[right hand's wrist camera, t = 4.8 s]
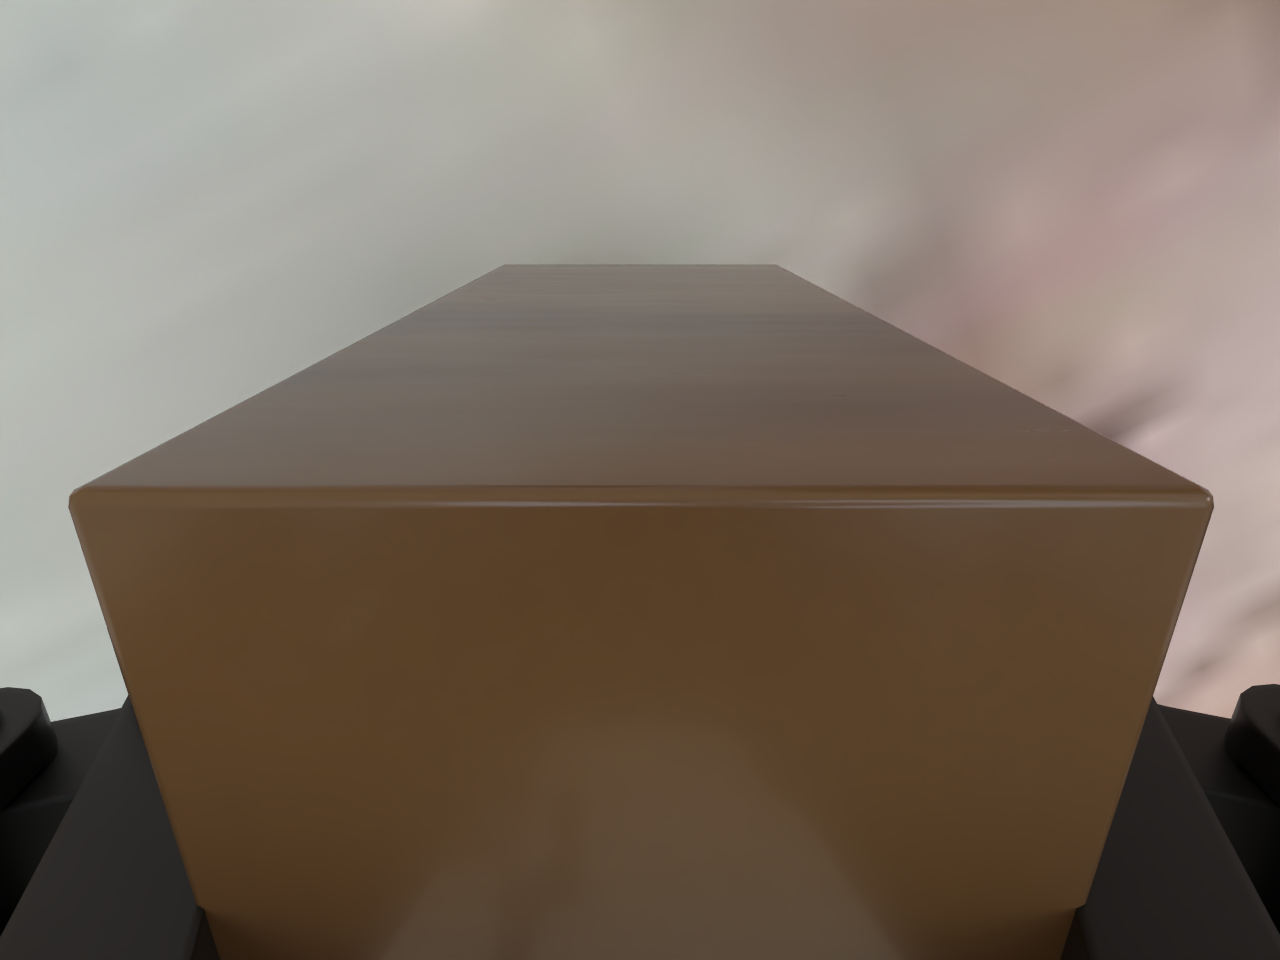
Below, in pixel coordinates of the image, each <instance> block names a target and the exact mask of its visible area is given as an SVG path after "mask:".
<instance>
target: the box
mask: <svg viewBox="0 0 1280 960" xmlns="http://www.w3.org/2000/svg"><path fill="white" fill-rule="evenodd" d="M1213 508H1214V503H1213V496H1212V494H1211V493H1210V492H1209V490H1207V489H1205V488H1203V487H1202V486H1200V485H1198V484H1196V483H1194V482H1192V481H1190V480H1188V479H1186V478H1184V477H1182V476H1180V475H1179V474H1177V473H1175V472H1173V471H1171V470H1169V469H1167V468H1165V467H1163V466H1161V465H1159V464H1157V463H1156V462H1154V461H1152V460H1150V459H1148V458H1146V457H1144V456H1142V455H1140V454H1138V453H1136V452H1134V451H1132V450H1131V449H1129V448H1127V447H1125V446H1123V445H1121V444H1119V443H1117V442H1115V441H1113V440H1111V439H1109V438H1108V437H1106V436H1104V435H1102V434H1100V433H1098V432H1096V431H1094V430H1092V429H1090V428H1088V427H1086V426H1085V425H1083V424H1081V423H1079V422H1077V421H1075V420H1073V419H1071V418H1069V417H1067V416H1065V415H1063V414H1062V413H1060V412H1058V411H1056V410H1054V409H1052V408H1050V407H1048V406H1046V405H1044V404H1042V403H1040V402H1039V401H1037V400H1035V399H1033V398H1031V397H1029V396H1027V395H1025V394H1023V393H1021V392H1019V391H1017V390H1016V389H1014V388H1012V387H1010V386H1008V385H1006V384H1004V383H1002V382H1000V381H998V380H996V379H994V378H993V377H991V376H989V375H987V374H985V373H983V372H981V371H979V370H977V369H975V368H973V367H971V366H970V365H968V364H966V363H964V362H962V361H960V360H958V359H956V358H954V357H952V356H950V355H948V354H947V353H945V352H943V351H941V350H939V349H937V348H935V347H933V346H931V345H929V344H927V343H925V342H924V341H922V340H920V339H918V338H916V337H914V336H912V335H910V334H908V333H906V332H904V331H902V330H901V329H899V328H897V327H895V326H893V325H891V324H889V323H887V322H885V321H883V320H881V319H879V318H878V317H876V316H874V315H872V314H870V313H868V312H866V311H864V310H862V309H860V308H858V307H856V306H855V305H853V304H851V303H849V302H847V301H845V300H843V299H841V298H839V297H837V296H835V295H833V294H832V293H830V292H828V291H826V290H824V289H822V288H820V287H818V286H816V285H814V284H812V283H810V282H809V281H807V280H805V279H803V278H801V277H799V276H797V275H795V274H793V273H791V272H789V271H787V270H785V269H784V268H782V267H780V266H778V265H503V266H501V267H499V268H497V269H495V270H493V271H491V272H489V273H487V274H485V275H484V276H482V277H480V278H478V279H476V280H474V281H472V282H470V283H468V284H466V285H464V286H463V287H461V288H459V289H457V290H455V291H453V292H451V293H449V294H447V295H445V296H443V297H442V298H440V299H438V300H436V301H434V302H432V303H430V304H428V305H426V306H424V307H422V308H421V309H419V310H417V311H415V312H413V313H411V314H409V315H407V316H405V317H403V318H401V319H400V320H398V321H396V322H394V323H392V324H390V325H388V326H386V327H384V328H382V329H380V330H379V331H377V332H375V333H373V334H371V335H369V336H367V337H365V338H363V339H361V340H359V341H358V342H356V343H354V344H352V345H350V346H348V347H346V348H344V349H342V350H340V351H338V352H337V353H335V354H333V355H331V356H329V357H327V358H325V359H323V360H321V361H319V362H318V363H316V364H314V365H312V366H310V367H308V368H306V369H304V370H302V371H300V372H298V373H297V374H295V375H293V376H291V377H289V378H287V379H285V380H283V381H281V382H279V383H277V384H276V385H274V386H272V387H270V388H268V389H266V390H264V391H262V392H260V393H258V394H256V395H255V396H253V397H251V398H249V399H247V400H245V401H243V402H241V403H239V404H237V405H235V406H234V407H232V408H230V409H228V410H226V411H224V412H222V413H220V414H218V415H216V416H214V417H213V418H211V419H209V420H207V421H205V422H203V423H201V424H199V425H197V426H195V427H193V428H192V429H190V430H188V431H186V432H184V433H182V434H180V435H178V436H176V437H174V438H172V439H171V440H169V441H167V442H165V443H163V444H161V445H159V446H157V447H155V448H153V449H151V450H150V451H148V452H146V453H144V454H142V455H140V456H138V457H136V458H134V459H132V460H130V461H129V462H127V463H125V464H123V465H121V466H119V467H117V468H115V469H113V470H111V471H109V472H108V473H106V474H104V475H102V476H100V477H98V478H96V479H94V480H92V481H90V482H88V483H87V484H85V485H83V486H81V487H79V488H77V489H75V490H74V491H73V492H72V494H71V495H70V497H69V510H70V513H71V516H72V520H73V523H74V526H75V529H76V532H77V535H78V538H79V541H80V544H81V548H82V551H83V554H84V557H85V560H86V563H87V566H88V569H89V572H90V575H91V579H92V582H93V585H94V588H95V591H96V594H97V597H98V600H99V603H100V606H101V610H102V613H103V616H104V619H105V622H106V625H107V628H108V631H109V634H110V638H111V641H112V644H113V647H114V650H115V653H116V656H117V659H118V662H119V665H120V669H121V672H122V675H123V678H124V681H125V684H126V687H127V690H128V693H129V696H130V700H131V703H132V706H133V709H134V712H135V715H136V718H137V721H138V724H139V728H140V731H141V734H142V737H143V740H144V743H145V746H146V749H147V752H148V755H149V759H150V762H151V765H152V768H153V771H154V774H155V777H156V780H157V783H158V786H159V790H160V793H161V796H162V799H163V802H164V805H165V808H166V811H167V814H168V818H169V821H170V824H171V827H172V830H173V833H174V836H175V839H176V842H177V845H178V849H179V852H180V855H181V858H182V861H183V864H184V867H185V870H186V873H187V876H188V880H189V883H190V886H191V889H192V892H193V895H194V898H195V901H196V904H197V905H198V906H200V907H202V908H204V911H205V914H206V917H207V920H208V923H209V926H210V929H211V933H212V936H213V939H214V942H215V945H216V948H217V952H218V955H219V958H220V960H1060V958H1061V955H1062V952H1063V949H1064V946H1065V942H1066V939H1067V936H1068V933H1069V930H1070V927H1071V924H1072V920H1073V917H1074V914H1075V911H1076V908H1078V907H1080V906H1082V905H1084V904H1086V901H1087V898H1088V895H1089V891H1090V888H1091V885H1092V882H1093V879H1094V876H1095V873H1096V870H1097V867H1098V864H1099V861H1100V857H1101V854H1102V851H1103V848H1104V845H1105V842H1106V839H1107V836H1108V833H1109V830H1110V827H1111V823H1112V820H1113V817H1114V814H1115V811H1116V808H1117V805H1118V802H1119V799H1120V796H1121V793H1122V789H1123V786H1124V783H1125V780H1126V777H1127V774H1128V771H1129V768H1130V765H1131V762H1132V759H1133V755H1134V752H1135V749H1136V746H1137V743H1138V740H1139V737H1140V734H1141V731H1142V728H1143V725H1144V721H1145V718H1146V715H1147V712H1148V709H1149V706H1150V703H1151V700H1152V697H1153V694H1154V691H1155V687H1156V684H1157V681H1158V678H1159V675H1160V672H1161V669H1162V666H1163V663H1164V660H1165V657H1166V654H1167V650H1168V647H1169V644H1170V641H1171V638H1172V635H1173V632H1174V629H1175V626H1176V623H1177V620H1178V616H1179V613H1180V610H1181V607H1182V604H1183V601H1184V598H1185V595H1186V592H1187V589H1188V586H1189V582H1190V579H1191V576H1192V573H1193V570H1194V567H1195V564H1196V561H1197V558H1198V555H1199V552H1200V548H1201V545H1202V542H1203V539H1204V536H1205V533H1206V530H1207V527H1208V524H1209V521H1210V518H1211V514H1212V511H1213Z"/></svg>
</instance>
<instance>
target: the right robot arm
mask: <svg viewBox="0 0 1280 960" xmlns="http://www.w3.org/2000/svg"><path fill="white" fill-rule="evenodd" d="M107 629H108V628H107ZM108 632H109V631H108ZM109 635H110V634H109ZM111 642H112V641H111ZM112 645H113V644H112ZM113 648H114V647H113ZM114 651H115V650H114ZM115 654H116V653H115ZM116 657H117V656H116ZM117 660H118V659H117ZM118 663H119V662H118ZM119 666H120V665H119ZM121 673H122V672H121ZM122 676H123V675H122ZM123 679H124V678H123ZM124 682H125V681H124ZM125 685H126V684H125ZM126 688H127V687H126ZM127 691H128V690H127ZM128 694H129V693H128ZM0 960H220V958H219V955H218V952H217V948H216V945H215V942H214V939H213V936H212V933H211V929H210V926H209V923H208V920H207V917H206V914H205V911H204V908H202V907H200V906H198V905H197V904H196V901H195V898H194V895H193V892H192V889H191V886H190V883H189V880H188V876H187V873H186V870H185V867H184V864H183V861H182V858H181V855H180V852H179V849H178V845H177V842H176V839H175V836H174V833H173V830H172V827H171V824H170V821H169V818H168V814H167V811H166V808H165V805H164V802H163V799H162V796H161V793H160V790H159V786H158V783H157V780H156V777H155V774H154V771H153V768H152V765H151V762H150V759H149V755H148V752H147V749H146V746H145V743H144V740H143V737H142V734H141V731H140V728H139V724H138V721H137V718H136V715H135V712H134V709H133V706H132V703H131V700H130V696H129V695H128V697H127V699H126V701H125V702H124V704H123V706H122V708H119V709H115V710H110V711H105V712H100V713H95V714H90V715H85V716H79V717H74V718H69V719H64V720H59V721H54V722H50V719H49V716H48V714H47V711H46V708H45V706H44V703H43V700H42V698H41V697H40V696H39V695H37V694H36V693H34V692H33V691H31V690H30V689H21V688H10V687H7V688H0ZM1060 960H1280V685H1277V684H1269V685H1258V686H1252V687H1250V688H1249V689H1247V690H1246V691H1244V692H1243V693H1241V694H1240V697H1239V700H1238V702H1237V705H1236V708H1235V710H1234V713H1233V716H1232V718H1231V719H1228V718H1223V717H1218V716H1213V715H1208V714H1203V713H1198V712H1192V711H1187V710H1182V709H1177V708H1172V707H1167V706H1163V705H1159V704H1157V703H1156V701H1155V699H1154V697H1152V700H1151V703H1150V706H1149V709H1148V712H1147V715H1146V718H1145V721H1144V725H1143V728H1142V731H1141V734H1140V737H1139V740H1138V743H1137V746H1136V749H1135V752H1134V755H1133V759H1132V762H1131V765H1130V768H1129V771H1128V774H1127V777H1126V780H1125V783H1124V786H1123V789H1122V793H1121V796H1120V799H1119V802H1118V805H1117V808H1116V811H1115V814H1114V817H1113V820H1112V823H1111V827H1110V830H1109V833H1108V836H1107V839H1106V842H1105V845H1104V848H1103V851H1102V854H1101V857H1100V861H1099V864H1098V867H1097V870H1096V873H1095V876H1094V879H1093V882H1092V885H1091V888H1090V891H1089V895H1088V898H1087V901H1086V904H1084V905H1082V906H1080V907H1078V908H1076V911H1075V914H1074V917H1073V920H1072V924H1071V927H1070V930H1069V933H1068V936H1067V939H1066V942H1065V946H1064V949H1063V952H1062V955H1061V958H1060Z"/></svg>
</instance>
